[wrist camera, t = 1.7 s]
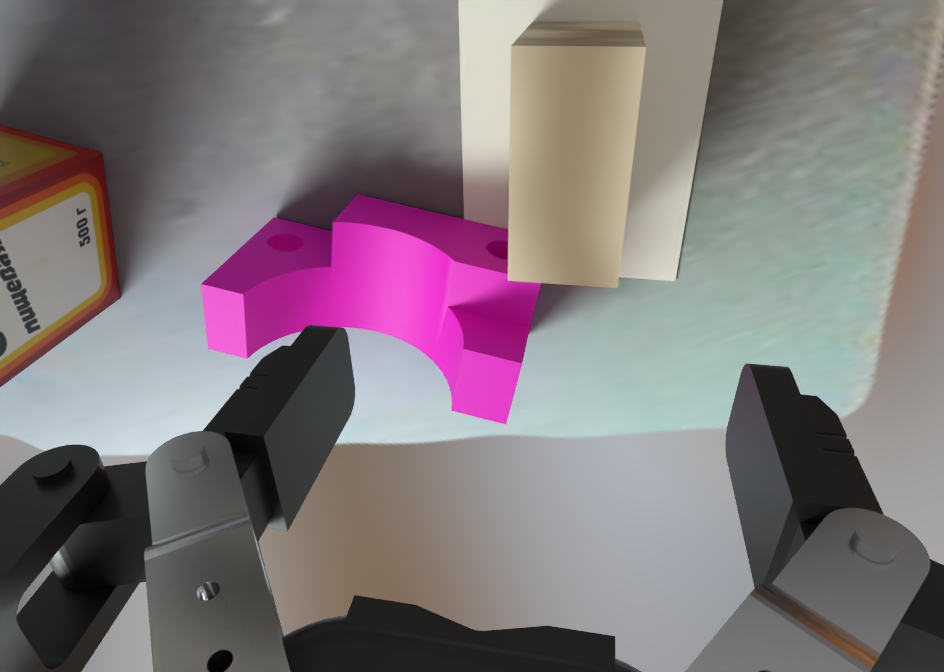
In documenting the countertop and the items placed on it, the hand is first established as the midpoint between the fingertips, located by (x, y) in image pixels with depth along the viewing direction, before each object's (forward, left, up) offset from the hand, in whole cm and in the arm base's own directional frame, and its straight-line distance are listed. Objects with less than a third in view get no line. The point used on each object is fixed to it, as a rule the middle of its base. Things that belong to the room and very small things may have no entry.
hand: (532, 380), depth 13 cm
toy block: (-9, -7, -20) cm, 23 cm away
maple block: (0, 0, -20) cm, 20 cm away
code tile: (0, 0, -20) cm, 20 cm away
